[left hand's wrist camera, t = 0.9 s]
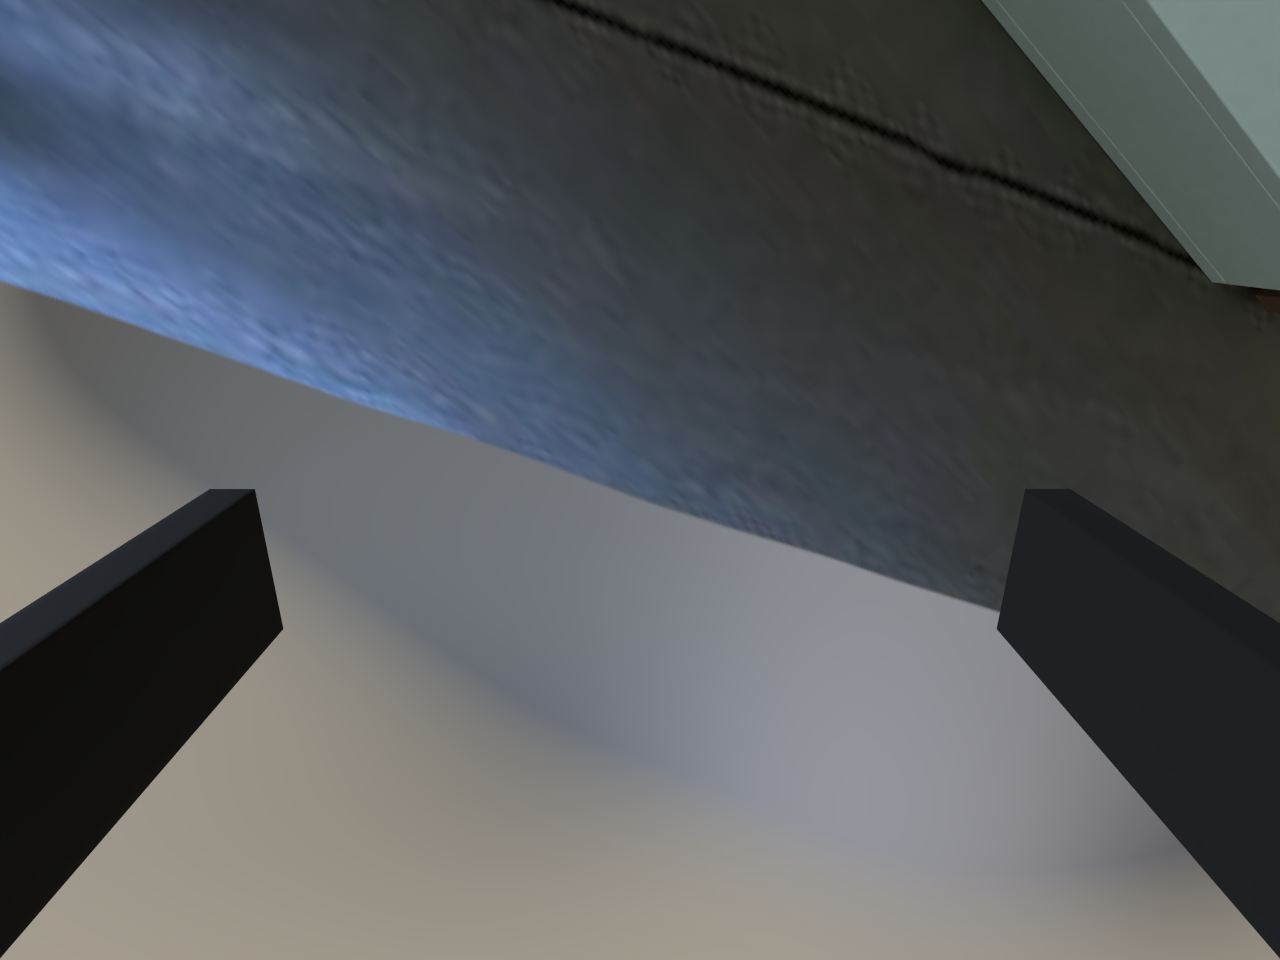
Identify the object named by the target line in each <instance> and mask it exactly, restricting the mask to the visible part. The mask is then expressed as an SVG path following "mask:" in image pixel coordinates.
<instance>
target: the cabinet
mask: <svg viewBox="0 0 1280 960" xmlns="http://www.w3.org/2000/svg"><path fill="white" fill-rule="evenodd" d="M982 2H983V3H984V4H985V5H986V7H987V8H988V9H989V10H990V11H991V13H992V14H993V15H994V16H995V18H996V19H997V20H998V21H999V22H1000V24H1001V25H1002V26H1003V27H1004V29H1005V30H1006V31H1007V32H1008V33H1009V35H1010V36H1011V37H1012V38H1013V40H1014V41H1015V42H1016V43H1017V44H1018V46H1019V47H1020V48H1021V49H1022V51H1023V52H1024V53H1025V54H1026V55H1027V57H1028V58H1029V59H1030V60H1031V62H1032V63H1033V64H1034V65H1035V66H1036V68H1037V69H1038V70H1039V71H1040V73H1041V74H1042V75H1043V76H1044V77H1045V79H1046V80H1047V81H1048V82H1049V84H1050V85H1051V86H1052V87H1053V88H1054V90H1055V91H1056V92H1057V93H1058V95H1059V96H1060V97H1061V98H1062V99H1063V101H1064V102H1065V103H1066V104H1067V106H1068V107H1069V108H1070V109H1071V110H1072V112H1073V113H1074V114H1075V115H1076V117H1077V118H1078V119H1079V120H1080V121H1081V123H1082V124H1083V125H1084V126H1085V128H1086V129H1087V130H1088V131H1089V132H1090V134H1091V135H1092V136H1093V137H1094V139H1095V140H1096V141H1097V142H1098V143H1099V145H1100V146H1101V147H1102V148H1103V150H1104V151H1105V152H1106V153H1107V154H1108V156H1109V157H1110V158H1111V159H1112V161H1113V162H1114V163H1115V164H1116V165H1117V167H1118V168H1119V169H1120V170H1121V172H1122V173H1123V174H1124V175H1125V176H1126V178H1127V179H1128V180H1129V181H1130V183H1131V184H1132V185H1133V186H1134V187H1135V189H1136V190H1137V191H1138V192H1139V194H1140V195H1141V196H1142V197H1143V198H1144V200H1145V201H1146V202H1147V203H1148V205H1149V206H1150V207H1151V208H1152V209H1153V211H1154V212H1155V213H1156V214H1157V216H1158V217H1159V218H1160V219H1161V220H1162V222H1163V223H1164V224H1165V225H1166V227H1167V228H1168V229H1169V230H1170V231H1171V233H1172V234H1173V235H1174V236H1175V238H1176V239H1177V240H1178V241H1179V242H1180V244H1181V245H1182V246H1183V247H1184V249H1185V250H1186V251H1187V252H1188V253H1189V255H1190V256H1191V257H1192V258H1193V260H1194V261H1195V262H1196V263H1197V265H1198V266H1199V267H1200V268H1201V269H1202V271H1203V272H1204V273H1205V274H1206V276H1207V277H1208V278H1209V279H1210V280H1211V282H1215V283H1224V284H1230V285H1239V286H1247V287H1256V288H1264V289H1273V290H1280V0H982Z"/></svg>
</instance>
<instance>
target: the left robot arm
mask: <svg viewBox="0 0 1280 960" xmlns="http://www.w3.org/2000/svg"><path fill="white" fill-rule="evenodd" d="M282 630H283V625H282V621H281V616H280V611H279V606H278V601H277V596H276V591H275V586H274V581H273V576H272V571H271V567H270V562H269V557H268V552H267V547H266V542H265V537H264V532H263V527H262V522H261V517H260V513H259V508H258V503H257V498H256V493H255V489H209V490H208V491H206V492H205V493H203V494H202V495H200V496H198V497H197V498H195V499H194V500H192V501H191V502H189V503H187V504H186V505H184V506H183V507H181V508H180V509H178V510H177V511H175V512H173V513H172V514H170V515H169V516H167V517H166V518H164V519H162V520H161V521H159V522H158V523H156V524H155V525H153V526H152V527H150V528H148V529H147V530H145V531H144V532H142V533H141V534H139V535H137V536H136V537H134V538H133V539H131V540H130V541H128V542H126V543H125V544H123V545H122V546H120V547H119V548H117V549H116V550H114V551H112V552H111V553H109V554H108V555H106V556H105V557H103V558H102V559H100V560H98V561H97V562H95V563H94V564H92V565H91V566H89V567H87V568H86V569H84V570H83V571H81V572H80V573H78V574H76V575H75V576H73V577H72V578H70V579H69V580H67V581H66V582H64V583H63V584H61V585H59V586H58V587H56V588H55V589H53V590H51V591H50V592H48V593H47V594H45V595H44V596H42V597H41V598H39V599H37V600H36V601H34V602H33V603H31V604H30V605H28V606H26V607H25V608H23V609H22V610H20V611H19V612H17V613H16V614H14V615H12V616H11V617H9V618H8V619H6V620H5V621H3V622H1V623H0V958H1V957H2V955H3V954H4V953H5V952H6V951H7V950H8V948H9V947H10V946H11V945H12V944H13V943H14V941H15V940H16V939H17V938H18V937H19V936H20V934H21V933H22V932H23V931H24V930H25V929H26V927H27V926H28V925H29V924H30V923H31V922H32V920H33V919H34V918H35V917H36V916H37V915H38V913H39V912H40V911H41V910H42V909H43V908H44V907H45V905H46V904H47V903H48V902H49V901H50V900H51V898H52V897H53V896H54V895H55V894H56V893H57V891H58V890H59V889H60V888H61V887H62V886H63V884H64V883H65V882H66V881H67V880H68V879H69V877H70V876H71V875H72V874H73V873H74V872H75V870H76V869H77V868H78V867H79V866H80V865H81V864H82V862H83V861H84V860H85V859H86V858H87V856H88V855H89V854H90V853H91V852H92V851H93V850H94V848H95V847H96V846H97V845H98V844H99V843H100V841H101V840H102V839H103V838H104V837H105V836H106V834H107V833H108V832H109V831H110V830H111V829H112V827H113V826H114V825H115V824H116V823H117V822H118V820H119V819H120V818H121V817H122V816H123V815H124V814H125V812H126V811H127V810H128V809H129V808H130V807H131V805H132V804H133V803H134V802H135V801H136V800H137V798H138V797H139V796H140V795H141V794H142V793H143V791H144V790H145V789H146V788H147V787H148V786H149V784H150V783H151V782H152V781H153V780H154V779H155V777H156V776H157V775H158V774H159V773H160V772H161V770H162V769H163V768H164V767H165V766H166V765H167V763H168V762H169V761H170V760H171V759H172V758H173V757H174V755H175V754H176V753H177V752H178V751H179V750H180V748H181V747H182V746H183V745H184V744H185V743H186V741H187V740H188V739H189V738H190V737H191V736H192V734H193V733H194V732H195V731H196V730H197V729H198V727H199V726H200V725H201V724H202V723H203V722H204V720H205V719H206V718H207V717H208V716H209V715H210V713H211V712H212V711H213V710H214V709H215V708H216V707H217V705H218V704H219V703H220V702H221V701H222V699H223V698H224V697H225V696H226V695H227V694H228V693H229V691H230V690H231V689H232V688H233V687H234V686H235V684H236V683H237V682H238V681H239V680H240V679H241V677H242V676H243V675H244V674H245V673H246V672H247V670H248V669H249V668H250V667H251V666H252V665H253V663H254V662H255V661H256V660H257V659H258V658H259V656H260V655H261V654H262V653H263V652H264V651H265V649H266V648H267V647H268V646H269V645H270V644H271V643H272V641H273V640H274V639H275V638H276V637H277V635H278V634H279V633H280V632H281V631H282ZM997 630H998V631H999V632H1000V633H1001V634H1002V636H1003V637H1004V638H1005V639H1006V640H1007V641H1008V643H1009V644H1010V645H1011V646H1012V647H1013V648H1014V649H1015V651H1016V652H1017V653H1018V654H1019V655H1020V656H1021V658H1022V659H1023V660H1024V661H1025V662H1026V663H1027V665H1028V666H1029V667H1030V668H1031V669H1032V670H1033V672H1034V673H1035V674H1036V675H1037V676H1038V677H1039V679H1040V680H1041V681H1042V682H1043V683H1044V684H1045V686H1046V687H1047V688H1048V689H1049V690H1050V691H1051V693H1052V694H1053V695H1054V696H1055V697H1056V698H1057V700H1058V701H1059V702H1060V703H1061V704H1062V705H1063V707H1064V708H1065V709H1066V710H1067V711H1068V712H1069V713H1070V715H1071V716H1072V717H1073V718H1074V719H1075V720H1076V722H1077V723H1078V724H1079V725H1080V726H1081V727H1082V729H1083V730H1084V731H1085V732H1086V733H1087V734H1088V736H1089V737H1090V738H1091V739H1092V740H1093V741H1094V743H1095V744H1096V745H1097V746H1098V747H1099V748H1100V750H1101V751H1102V752H1103V753H1104V754H1105V755H1106V756H1107V758H1108V759H1109V760H1110V761H1111V762H1112V763H1113V765H1114V766H1115V767H1116V768H1117V769H1118V770H1119V772H1120V773H1121V774H1122V775H1123V776H1124V777H1125V779H1126V780H1127V781H1128V782H1129V783H1130V784H1131V786H1132V787H1133V788H1134V789H1135V790H1136V791H1137V793H1138V794H1139V795H1140V796H1141V797H1142V798H1143V800H1144V801H1145V802H1146V803H1147V804H1148V805H1149V806H1150V808H1151V809H1152V810H1153V811H1154V812H1155V814H1156V815H1157V816H1158V817H1159V818H1160V819H1161V820H1162V822H1163V823H1164V824H1165V825H1166V826H1167V827H1168V829H1169V830H1170V831H1171V832H1172V833H1173V834H1174V836H1175V837H1176V838H1177V839H1178V840H1179V841H1180V843H1181V844H1182V845H1183V846H1184V847H1185V848H1186V850H1187V851H1188V852H1189V853H1190V854H1191V855H1192V856H1193V858H1194V859H1195V860H1196V861H1197V862H1198V864H1199V865H1200V866H1201V867H1202V868H1203V869H1204V870H1205V872H1206V873H1207V874H1208V875H1209V876H1210V877H1211V879H1212V880H1213V881H1214V882H1215V883H1216V884H1217V886H1218V887H1219V888H1220V889H1221V890H1222V891H1223V893H1224V894H1225V895H1226V896H1227V897H1228V898H1229V900H1230V901H1231V902H1232V903H1233V904H1234V905H1235V907H1236V908H1237V909H1238V910H1239V911H1240V912H1241V913H1242V915H1243V916H1244V917H1245V918H1246V919H1247V920H1248V922H1249V923H1250V924H1251V925H1252V926H1253V927H1254V929H1255V930H1256V931H1257V932H1258V933H1259V934H1260V936H1261V937H1262V938H1263V939H1264V940H1265V941H1266V943H1267V944H1268V945H1269V946H1270V947H1271V948H1272V950H1273V951H1274V952H1275V953H1276V954H1277V955H1278V957H1279V958H1280V623H1279V622H1277V621H1275V620H1274V619H1272V618H1271V617H1269V616H1268V615H1266V614H1264V613H1263V612H1261V611H1260V610H1258V609H1257V608H1255V607H1254V606H1252V605H1250V604H1249V603H1247V602H1246V601H1244V600H1243V599H1241V598H1239V597H1238V596H1236V595H1235V594H1233V593H1232V592H1230V591H1229V590H1227V589H1225V588H1224V587H1222V586H1221V585H1219V584H1218V583H1216V582H1214V581H1213V580H1211V579H1210V578H1208V577H1207V576H1205V575H1204V574H1202V573H1200V572H1199V571H1197V570H1196V569H1194V568H1193V567H1191V566H1189V565H1188V564H1186V563H1185V562H1183V561H1182V560H1180V559H1179V558H1177V557H1175V556H1174V555H1172V554H1171V553H1169V552H1168V551H1166V550H1164V549H1163V548H1161V547H1160V546H1158V545H1157V544H1155V543H1154V542H1152V541H1150V540H1149V539H1147V538H1146V537H1144V536H1143V535H1141V534H1139V533H1138V532H1136V531H1135V530H1133V529H1132V528H1130V527H1129V526H1127V525H1125V524H1124V523H1122V522H1121V521H1119V520H1118V519H1116V518H1114V517H1113V516H1111V515H1110V514H1108V513H1107V512H1105V511H1104V510H1102V509H1100V508H1099V507H1097V506H1096V505H1094V504H1093V503H1091V502H1089V501H1088V500H1086V499H1085V498H1083V497H1082V496H1080V495H1078V494H1077V493H1075V492H1074V491H1072V490H1071V489H1025V493H1024V498H1023V503H1022V508H1021V513H1020V517H1019V522H1018V527H1017V532H1016V537H1015V542H1014V547H1013V552H1012V557H1011V562H1010V566H1009V571H1008V576H1007V581H1006V586H1005V591H1004V596H1003V601H1002V606H1001V611H1000V616H999V620H998V625H997Z"/></svg>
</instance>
